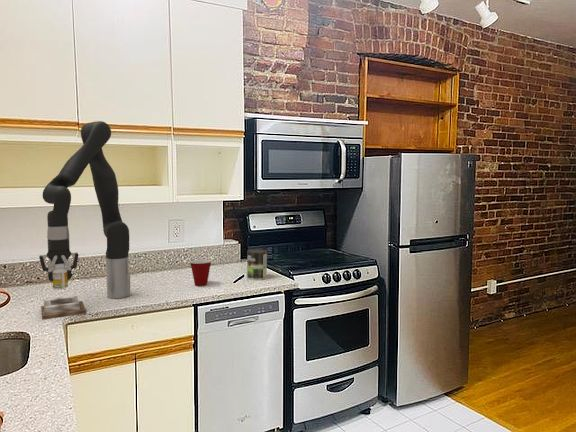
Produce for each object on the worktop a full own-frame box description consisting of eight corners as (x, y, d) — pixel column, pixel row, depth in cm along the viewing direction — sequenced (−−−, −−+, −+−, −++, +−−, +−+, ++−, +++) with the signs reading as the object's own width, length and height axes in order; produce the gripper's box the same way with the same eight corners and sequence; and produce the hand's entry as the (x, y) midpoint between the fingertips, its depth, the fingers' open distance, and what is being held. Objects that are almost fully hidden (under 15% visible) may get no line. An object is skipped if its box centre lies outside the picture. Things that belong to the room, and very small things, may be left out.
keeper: (82, 303, 188) (82, 294, 187) (86, 313, 175) (85, 304, 175) (41, 309, 180) (40, 299, 180) (42, 319, 168) (41, 309, 168)
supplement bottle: (64, 285, 181) (63, 261, 180) (70, 287, 178) (69, 263, 177) (50, 287, 177) (49, 263, 176) (56, 290, 174) (55, 265, 173)
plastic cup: (210, 281, 226) (210, 257, 224) (213, 286, 215) (213, 262, 214) (188, 282, 222) (188, 258, 221) (190, 288, 212) (190, 263, 211)
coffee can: (255, 281, 226) (255, 253, 225) (242, 277, 234) (242, 250, 233) (271, 277, 233) (271, 251, 232) (258, 274, 241) (258, 248, 239)
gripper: (77, 235, 182) (79, 276, 184) (37, 237, 175) (39, 280, 177) (79, 237, 176) (81, 280, 177) (37, 240, 169) (39, 284, 170)
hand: (60, 280), depth 177 cm, fingers closed on supplement bottle, 5 cm apart
